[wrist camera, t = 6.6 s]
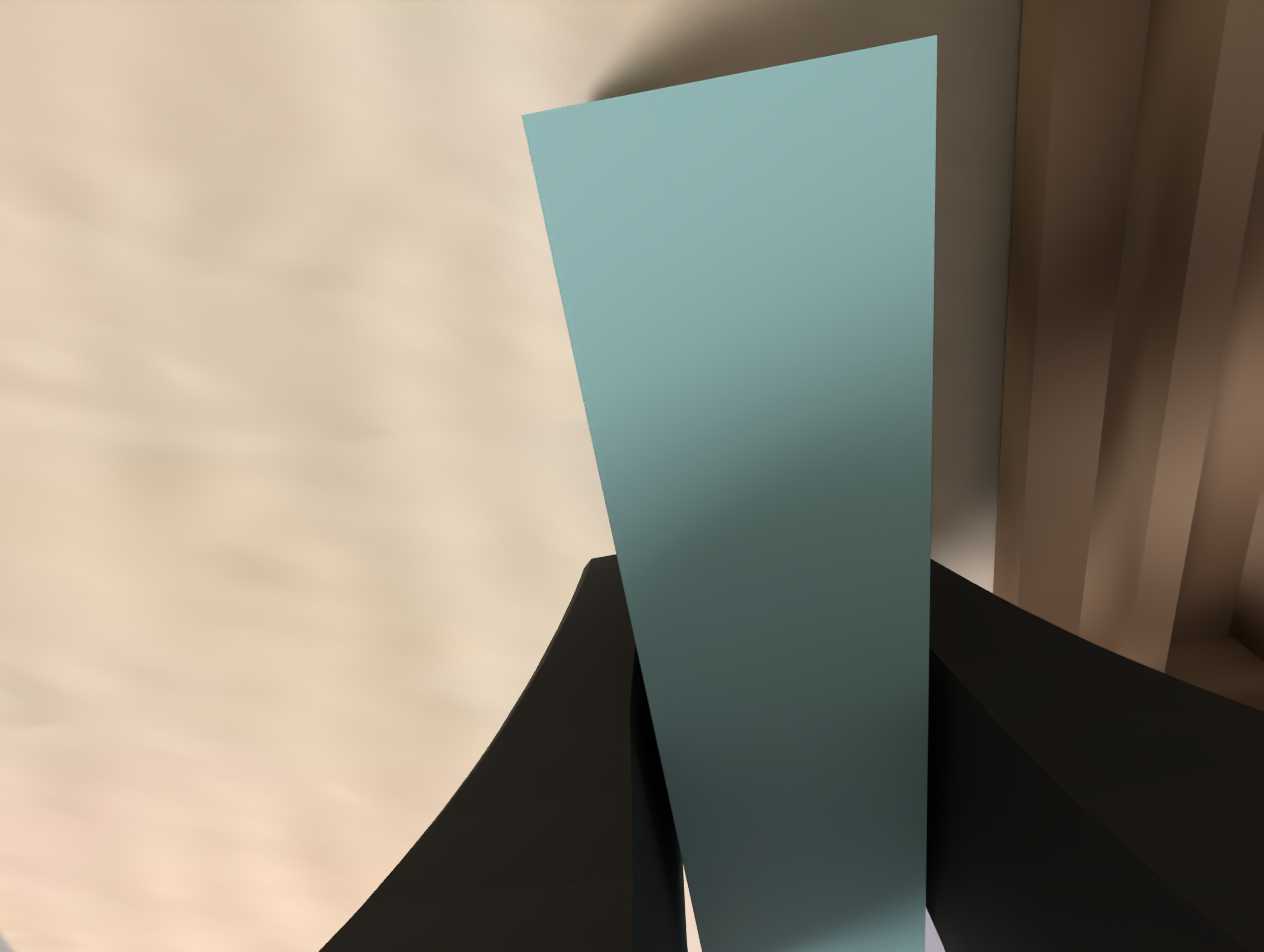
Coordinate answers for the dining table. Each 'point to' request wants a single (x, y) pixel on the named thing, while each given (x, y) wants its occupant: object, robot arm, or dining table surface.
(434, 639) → the dining table surface
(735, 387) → the teal sheet
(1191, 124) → the walnut rack
